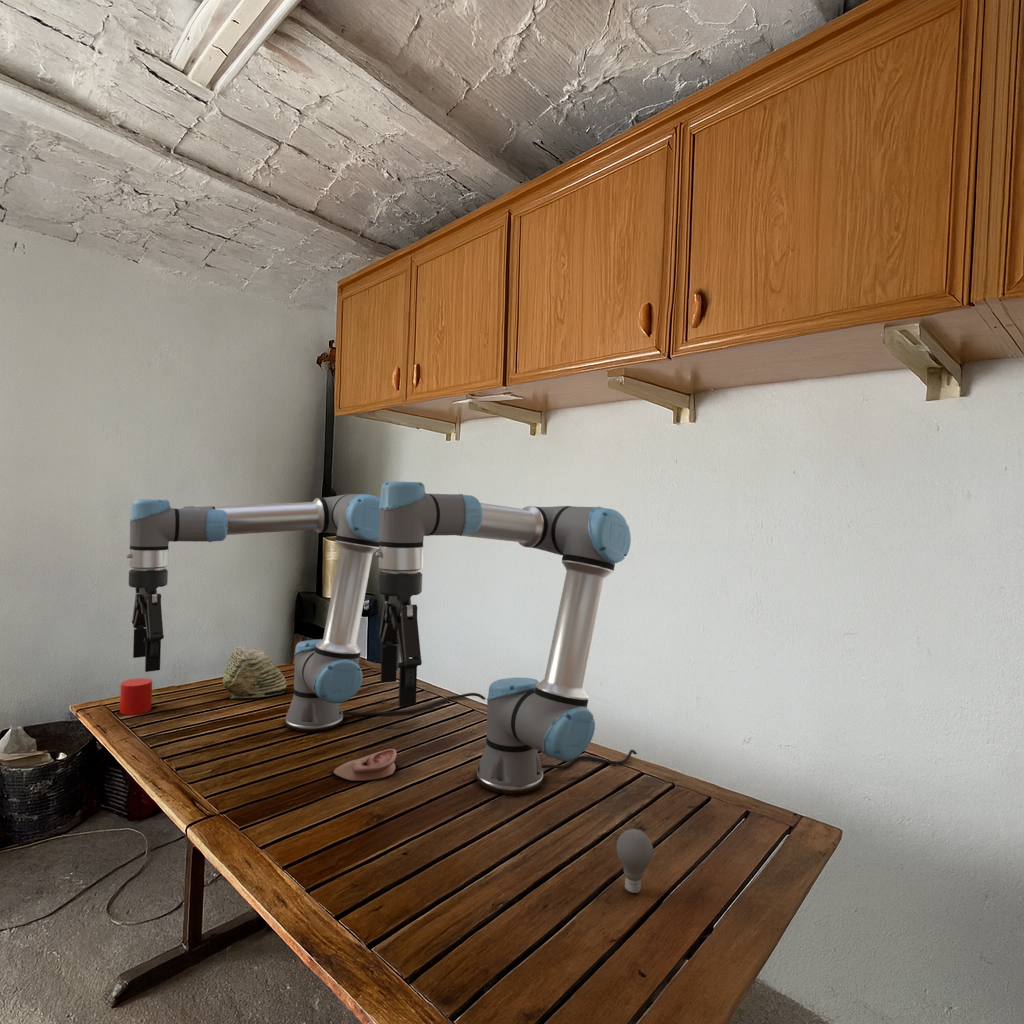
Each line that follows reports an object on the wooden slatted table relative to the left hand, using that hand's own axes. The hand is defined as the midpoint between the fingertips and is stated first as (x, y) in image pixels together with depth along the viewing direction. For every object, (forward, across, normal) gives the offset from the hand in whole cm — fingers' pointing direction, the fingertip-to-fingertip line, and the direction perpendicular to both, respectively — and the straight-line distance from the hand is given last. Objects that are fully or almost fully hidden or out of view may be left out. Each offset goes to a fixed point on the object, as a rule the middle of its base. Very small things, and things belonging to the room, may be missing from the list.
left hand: (146, 663), depth 141 cm
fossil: (+25, -42, +38) cm, 62 cm away
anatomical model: (+25, +27, +40) cm, 55 cm away
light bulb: (+25, +94, +55) cm, 112 cm away
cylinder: (+24, -46, +6) cm, 52 cm away
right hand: (-6, +63, +27) cm, 69 cm away
